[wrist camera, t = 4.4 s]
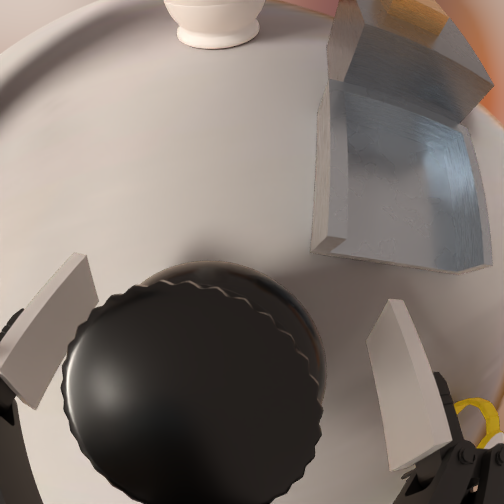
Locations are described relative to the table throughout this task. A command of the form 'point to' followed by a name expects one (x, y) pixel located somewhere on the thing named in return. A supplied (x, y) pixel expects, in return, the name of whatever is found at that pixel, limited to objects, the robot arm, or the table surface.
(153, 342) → the supplement bottle
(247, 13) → the jar
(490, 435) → the watch
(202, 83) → the table surface
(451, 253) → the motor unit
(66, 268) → the robot arm
